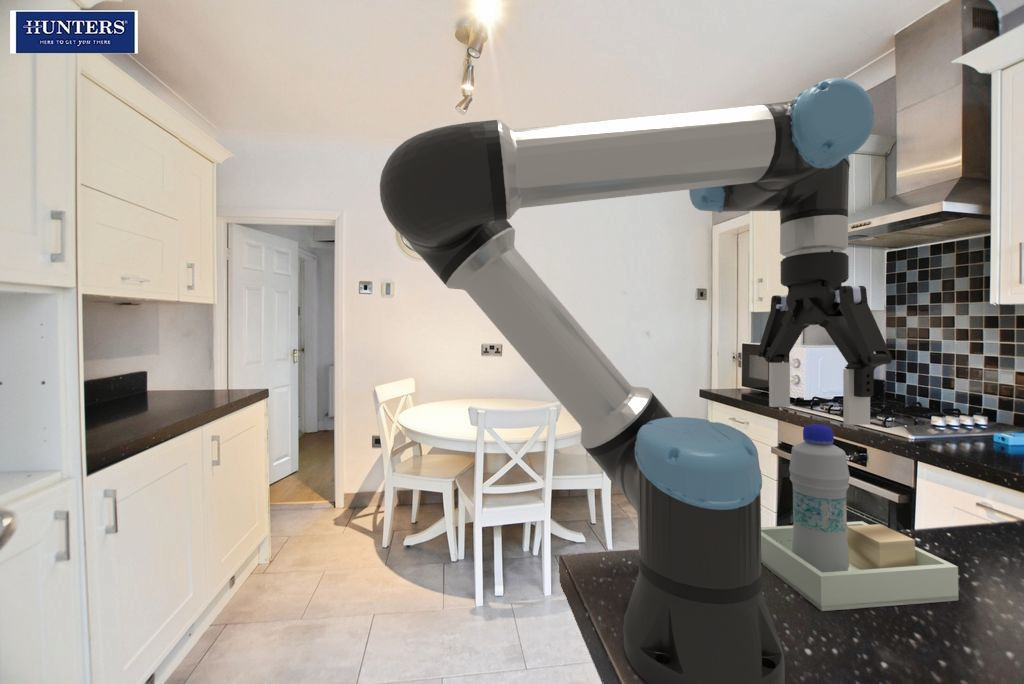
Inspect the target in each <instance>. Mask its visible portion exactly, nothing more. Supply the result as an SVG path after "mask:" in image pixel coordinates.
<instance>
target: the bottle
mask: <svg viewBox="0 0 1024 684" xmlns="http://www.w3.org/2000/svg"><path fill="white" fill-rule="evenodd" d="M802 438H803V439H802V440H803V441H802V442H800V443H797V444H794V445H793V446H792V447H791V452H790V454H791V455H790V461H789V467H788V471H789V474H790V476H789V480H790V481H791V484H792V512H793V513H792V515H793V517H792V519H793V524H792V525H793V539H792V552H793V553H794V554H795V555H797V556H798V557H800V558H801V559H803V560H804V561H806V562H807V563H809V564H810V565H812V566H813V567H815V568H816V569H818V570H819V571H821V572H822V573H823V572H838V571H848V567H849V550H848V541H847V522H848V519H847V518H848V517H847V513H848V511H847V492H848V491H847V490H849V488H850V484H849V482H850V481H849V480H850V478H851V475H850V470H849V466H848V459H847V454H846V452H845V450H843V449H842V448H840V447H838V446H836V445H835V444H834V440H835V439H834V438H835V437H834V431H833V429H832V427H830V426H829V425H826V424H825V425H824V424H818V423H812V424H807V425H805V426H804V427H803V429H802Z"/></svg>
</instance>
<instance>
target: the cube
mask: <svg viewBox="0 0 1024 684" xmlns="http://www.w3.org/2000/svg"><path fill="white" fill-rule="evenodd" d="M847 541H848V550H849V563H850V564H852V565H854V566H855V567H857V568H859V569H860V570H866V569H880V568H894V567H908V566H915V547H916V540H915V539H914V538H911V537H909V536H907V535H905V534H903V533H900V532H898V531H896V530H894V529H892V528H889V527H887V526H885V525H882V524H881V523H878V524H875V523H874V524H869V525H860V526H847Z"/></svg>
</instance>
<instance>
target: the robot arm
mask: <svg viewBox="0 0 1024 684" xmlns="http://www.w3.org/2000/svg"><path fill="white" fill-rule="evenodd" d="M873 105H874V104H873V101H872V99H871V97H870V95H869V94H868V92H867V91H866V90H865V89H864V88H863V87H862V86H861V85H860V84H858V83H856V82H855V81H853V80H850V79H848V78H847V79H846V78H843V77H842V78H841V77H831V78H827V79H824V80H821V81H819V82H818V83H816V84H814V85H813V86H811V87H810V88H807V89H805V90H803V91H802V92H800V93H799V94H798V95H797V96H795V99H792V100H788V101H781V102H780V101H779V102H773V103H765V104H756V105H755V104H754V105H753V104H752V105H745V106H744V105H743V106H735V107H725V108H715V109H705V110H696V111H695V110H693V111H685V112H675V113H667V114H665V113H664V114H663V113H662V114H655V115H645V116H634V117H626V118H625V117H624V118H617V119H616V118H615V119H603V120H595V121H585V122H574V123H565V124H564V123H563V124H555V125H544V126H534V127H525V128H517V129H512V128H510V127H509V126H508V125H507V124H506V123H505V122H503V121H502V120H501V119H493V120H491V119H489V120H482V121H481V120H480V121H470V122H463V123H457V124H456V123H455V124H451V125H446V126H441V127H437V128H433V129H430V130H427V131H424V132H421V133H418V134H416V135H414V136H412V137H410V138H408V139H406V140H404V141H403V142H402V143H401V144H400V145H399V146H397V147H396V148H395V150H394V151H393V152H392V153H391V154H390V155H389V157H388V158H387V160H386V163H385V165H384V167H383V169H382V171H381V175H380V181H379V196H380V203H381V206H382V210H383V211H384V214H385V215H386V218H387V219H388V221H389V223H390V224H391V225H392V227H393V228H394V229H395V230H396V232H398V233H399V234H400V235H401V236H402V237H403V238H404V239H405V240H406V241H407V242H408V243H409V245H410V246H411V248H412V249H413V251H415V252H416V254H418V255H419V256H420V257H421V258H422V260H423V261H424V262H425V263H426V264H427V265H428V267H429V268H430V269H431V270H432V271H433V272H434V274H435V275H436V276H437V277H438V278H439V280H441V282H442V283H443V284H444V285H445V286H446V287H447V288H448V289H453V290H463V291H464V292H466V293H467V294H468V296H469V297H470V298H471V299H472V300H473V301H474V303H475V304H476V305H477V306H478V307H479V309H481V311H482V312H483V313H484V314H485V316H487V318H488V319H489V320H490V321H491V322H492V324H493V325H494V326H495V328H497V330H498V331H499V332H500V333H501V334H502V336H503V337H504V338H505V339H506V340H507V342H509V344H510V345H511V346H512V347H513V348H514V349H515V351H516V352H517V353H518V354H519V356H520V357H521V358H522V359H523V360H524V361H525V363H526V364H527V365H528V366H529V367H530V369H531V370H533V372H534V373H535V374H536V376H537V377H538V378H539V379H540V380H541V381H542V382H543V384H544V385H545V386H546V387H547V389H548V390H549V391H550V392H551V394H552V395H553V396H554V397H555V398H556V399H557V401H559V403H560V404H561V405H562V406H563V407H564V408H565V409H566V411H567V412H568V413H569V415H571V417H572V418H573V419H574V420H575V422H576V423H577V424H578V425H579V426H580V429H581V434H580V444H581V446H582V447H583V448H584V449H585V451H586V452H587V453H588V455H590V456H591V458H592V459H593V460H594V461H595V462H596V463H597V464H598V466H599V467H600V468H601V469H602V471H603V472H604V474H605V475H606V476H607V478H608V479H609V480H610V482H611V483H613V485H614V486H616V488H617V489H619V491H620V493H621V494H622V495H623V496H624V497H625V498H626V500H627V501H628V503H629V504H630V505H631V507H633V509H634V510H635V512H636V514H637V530H638V532H637V533H638V534H637V535H638V536H637V537H638V539H637V540H638V574H637V577H636V580H635V584H634V587H633V589H632V593H631V596H630V597H629V598H630V599H629V602H628V605H627V608H626V610H625V614H624V618H623V648H624V652H625V656H626V658H627V660H628V662H629V664H630V665H631V667H632V669H633V670H634V671H635V672H636V673H637V675H638V676H640V678H641V679H643V680H644V681H645V682H646V683H647V684H786V683H785V682H786V677H785V676H786V675H785V671H786V670H785V655H784V650H783V649H784V648H783V647H782V644H781V641H780V638H779V636H778V632H777V630H776V626H775V624H774V622H773V619H772V616H771V615H772V614H771V613H770V610H769V607H768V605H767V602H766V600H765V596H764V594H763V581H762V580H763V579H762V577H763V576H762V571H763V570H762V565H763V564H761V527H762V507H761V506H762V505H761V504H762V503H761V502H762V500H761V498H762V497H761V492H762V491H761V490H762V488H763V478H762V477H763V475H762V470H761V468H760V467H761V466H760V461H759V460H760V459H759V453H758V449H757V447H756V445H755V443H754V442H753V440H752V439H751V437H749V436H748V435H747V434H745V433H744V432H743V431H741V430H739V429H737V428H736V427H733V426H730V425H728V424H726V423H722V422H715V421H714V422H713V421H710V420H709V419H705V418H699V417H686V416H679V417H678V416H673V415H672V414H671V413H670V412H669V410H668V409H667V408H666V407H665V406H664V405H663V403H662V402H661V401H660V399H658V398H657V397H656V395H655V394H654V392H652V390H651V389H650V388H649V387H643V386H642V387H641V386H634V385H631V383H629V381H628V380H627V379H626V378H625V377H624V375H623V373H621V372H620V370H618V368H617V367H616V366H615V365H614V363H613V362H612V361H611V360H610V359H609V358H608V356H607V355H606V354H605V352H603V350H602V349H601V348H600V346H599V345H598V344H597V343H596V342H595V341H594V339H592V337H591V336H590V335H589V334H588V332H586V330H585V329H584V328H583V327H582V325H580V323H579V322H578V321H577V320H576V319H575V316H573V315H572V314H571V313H570V311H569V310H568V309H567V308H566V307H565V305H564V304H563V303H562V302H561V301H560V300H559V298H558V297H557V296H556V295H555V294H554V292H553V291H552V290H551V289H550V288H549V287H548V285H547V284H546V283H545V282H544V281H543V280H542V278H541V277H540V276H539V275H538V274H537V273H536V271H535V270H534V268H533V267H531V265H530V264H529V263H528V262H527V260H526V259H525V258H524V256H523V255H522V254H521V253H520V252H519V251H518V250H517V249H516V247H515V238H516V237H515V236H516V229H515V228H514V227H513V226H512V225H511V224H510V221H508V220H510V219H511V218H512V217H513V216H514V215H515V214H516V212H518V211H519V209H525V208H526V209H527V208H534V207H544V206H552V205H553V206H554V205H561V204H569V203H570V204H571V203H579V202H587V201H599V200H607V199H615V198H625V197H633V196H643V195H650V194H661V193H670V192H678V191H688V192H689V193H688V194H689V199H690V202H691V204H692V206H693V207H694V208H695V209H696V210H699V211H701V212H702V211H704V212H705V211H706V212H714V213H715V212H716V213H724V212H727V213H728V212H779V219H780V223H779V224H780V226H779V227H780V228H779V231H780V233H779V234H780V235H779V254H780V255H781V256H783V257H784V258H782V260H781V261H780V284H781V285H782V286H783V287H786V288H787V289H788V290H787V294H785V295H772V296H771V299H770V311H769V314H768V317H767V320H766V323H765V327H764V331H763V334H762V335H761V336H762V337H761V340H760V343H759V345H758V350H757V356H758V358H764V360H765V362H767V380H768V387H769V388H768V397H769V398H768V402H769V403H768V407H770V408H787V407H788V408H790V407H791V392H790V391H791V390H790V389H791V382H790V381H791V380H790V379H791V375H790V374H791V371H790V370H791V368H790V367H791V362H790V361H791V360H790V359H789V358H788V356H789V355H790V353H791V351H792V349H793V348H794V346H795V344H796V343H797V341H798V340H799V338H800V336H801V334H802V333H803V331H804V329H807V328H808V327H810V326H817V325H818V326H819V327H821V328H823V329H824V330H825V332H826V333H827V334H828V335H829V337H830V338H831V340H832V342H833V343H834V344H835V346H836V347H837V349H838V351H839V352H840V353H841V355H842V357H843V358H844V360H845V361H846V363H847V364H846V365H845V366H844V368H843V370H842V371H843V374H842V375H843V376H842V378H843V381H842V383H843V384H842V385H843V387H842V388H843V396H842V397H843V409H842V411H843V413H842V414H843V416H842V417H843V421H842V422H843V425H848V426H857V425H861V426H863V425H864V426H865V425H871V398H872V397H873V396H874V393H875V392H874V391H875V390H874V389H875V388H874V387H875V386H874V385H875V380H874V379H875V370H876V368H878V367H880V366H884V365H890V364H891V363H892V361H893V357H892V355H891V352H890V350H889V348H888V346H887V344H886V343H887V342H886V341H885V339H884V337H883V334H882V332H881V330H880V328H879V326H878V323H877V321H876V319H875V317H874V314H873V313H872V310H871V308H870V306H869V303H868V297H867V296H868V293H867V288H866V286H865V285H842V284H844V283H846V282H847V281H848V280H849V277H850V275H849V274H850V273H849V272H850V271H849V270H850V269H849V267H850V266H849V260H850V259H849V257H850V256H849V255H848V254H847V253H846V252H843V251H845V250H846V249H847V248H849V187H850V186H849V180H850V178H849V177H850V167H851V161H850V158H849V156H850V155H852V154H854V153H856V152H857V151H859V149H861V147H862V146H864V145H865V143H867V141H868V140H869V138H870V136H871V133H872V131H873V128H874V123H875V111H874V106H873ZM874 352H875V353H874Z"/></svg>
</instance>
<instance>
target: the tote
mask: <svg viewBox="0 0 1024 684" xmlns="http://www.w3.org/2000/svg"><path fill="white" fill-rule="evenodd" d="M860 525H870V524H868V523H866V522H864V521H863V520H861V521H847V526H860ZM792 539H793V524H792V525H781V526H779V525H778V526H761V563H762V565H763V566H764V567H765V568H766V567H767V568H766V569H768V570H769V571H770V572H771V573H773V574H774V575H775V576H776V577H778V578H779V579H780V580H782V581H783V582H784V583H786V584H787V585H788V586H789V587H791V588H792V590H794V591H795V592H797V593H798V594H799V595H800V596H802V598H804V599H806V600H807V601H808V602H810V604H812V605H813V606H815V607H816V608H817V609H818V610H819V611H821V612H826V611H827V612H829V611H839V610H840V611H841V610H853V609H854V610H855V609H865V608H866V609H867V608H877V607H878V608H879V607H881V608H882V607H891V606H904V605H918V604H929V603H942V602H943V603H944V602H956V601H959V566H957V565H955V564H953V563H951V562H949V561H947V560H944V559H943V558H940V557H938V556H936V555H934V554H932V553H930V552H927V551H925V550H924V549H922V548H919V547H917V546H915V566H908V567H894V568H880V569H866V570H860V569H859V568H857V567H855V566H854V565H852V564H850V563H849V567H848V571H838V572H823V573H822V572H821V571H819V570H818V569H816V568H815V567H813V566H812V565H810V564H809V563H807V562H806V561H804V560H803V559H801V558H800V557H798V556H797V555H795V554H794V553H793V552H792V541H787V540H792ZM776 541H782V542H776ZM763 542H764V543H763Z"/></svg>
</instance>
